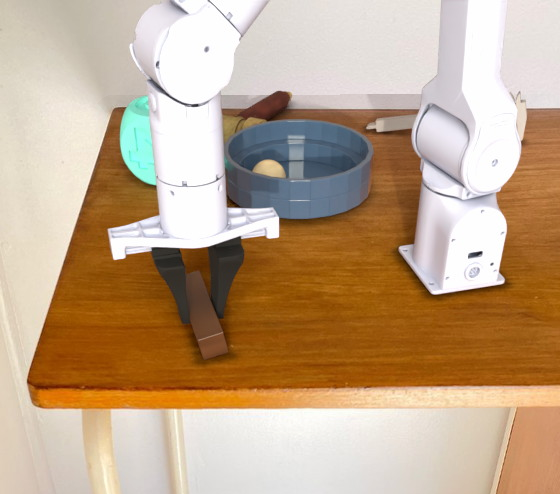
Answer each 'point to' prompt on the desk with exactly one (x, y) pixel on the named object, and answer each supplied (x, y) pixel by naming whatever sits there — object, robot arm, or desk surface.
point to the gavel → (256, 113)
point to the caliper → (409, 120)
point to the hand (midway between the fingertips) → (201, 315)
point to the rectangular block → (204, 318)
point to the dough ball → (270, 168)
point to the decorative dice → (138, 140)
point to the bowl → (299, 167)
